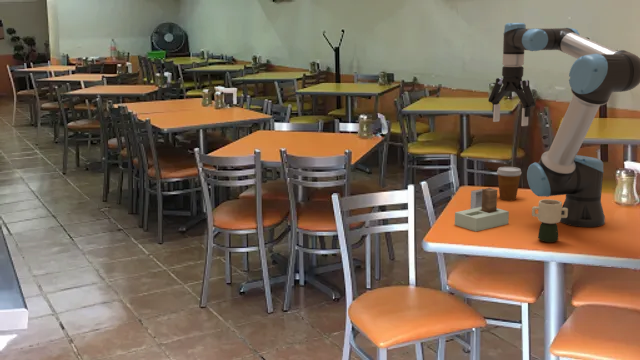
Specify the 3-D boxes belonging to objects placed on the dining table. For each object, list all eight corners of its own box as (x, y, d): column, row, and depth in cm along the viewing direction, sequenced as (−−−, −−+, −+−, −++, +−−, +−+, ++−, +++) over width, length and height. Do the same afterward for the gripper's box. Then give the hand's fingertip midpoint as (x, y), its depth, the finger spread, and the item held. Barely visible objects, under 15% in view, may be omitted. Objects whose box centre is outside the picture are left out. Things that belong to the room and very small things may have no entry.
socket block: (508, 223, 255) (508, 211, 254) (475, 231, 246) (476, 218, 245) (486, 217, 263) (487, 205, 262) (454, 224, 254) (455, 212, 253)
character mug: (564, 238, 237) (567, 199, 234) (566, 245, 230) (569, 205, 228) (529, 236, 240) (532, 198, 237) (530, 243, 233) (533, 203, 230)
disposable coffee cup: (491, 199, 289) (493, 169, 286) (500, 194, 297) (502, 165, 294) (515, 202, 284) (516, 172, 281) (523, 197, 291) (525, 168, 289)
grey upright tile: (486, 213, 268) (487, 189, 266) (475, 216, 265) (476, 192, 263) (481, 212, 270) (482, 188, 268) (470, 214, 267) (471, 190, 265)
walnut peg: (495, 223, 256) (497, 189, 253) (488, 224, 254) (490, 191, 251) (488, 220, 259) (489, 187, 256) (481, 222, 257) (482, 189, 254)
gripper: (547, 67, 259) (544, 126, 263) (494, 63, 279) (491, 119, 284) (533, 68, 255) (530, 128, 259) (480, 64, 275) (478, 120, 279)
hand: (510, 123), depth 271 cm, fingers open, 13 cm apart
